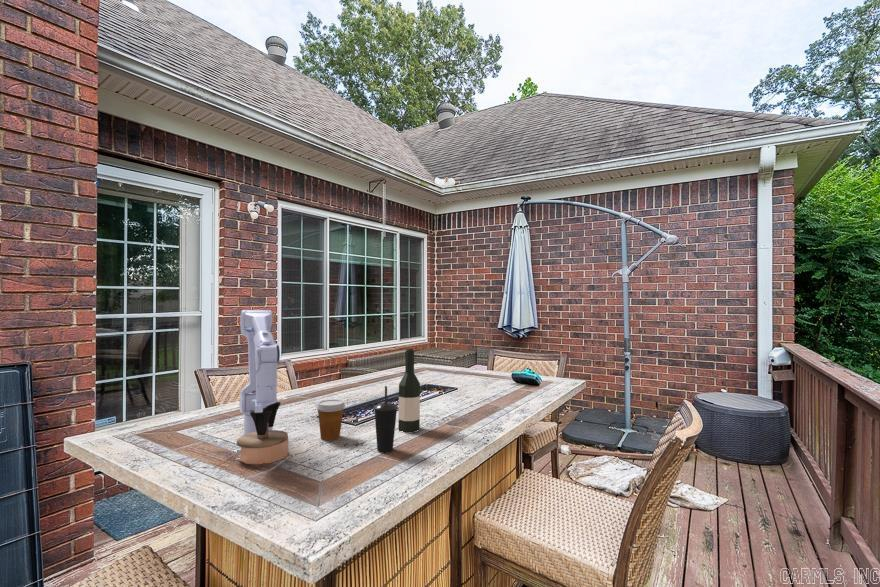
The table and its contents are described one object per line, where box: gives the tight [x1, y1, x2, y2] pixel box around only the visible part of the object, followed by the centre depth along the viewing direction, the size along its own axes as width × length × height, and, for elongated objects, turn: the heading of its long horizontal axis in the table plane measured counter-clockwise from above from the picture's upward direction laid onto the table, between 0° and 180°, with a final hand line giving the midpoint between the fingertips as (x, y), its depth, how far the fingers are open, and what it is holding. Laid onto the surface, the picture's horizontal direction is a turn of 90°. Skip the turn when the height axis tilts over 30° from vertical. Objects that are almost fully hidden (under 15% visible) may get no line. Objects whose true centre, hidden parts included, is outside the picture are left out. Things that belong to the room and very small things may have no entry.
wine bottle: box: [397, 347, 421, 433], centre depth 147 cm, size 8×8×30 cm
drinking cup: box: [373, 385, 399, 454], centre depth 125 cm, size 8×8×20 cm
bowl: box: [240, 437, 289, 465], centre depth 118 cm, size 13×13×5 cm
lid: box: [236, 423, 289, 448], centre depth 118 cm, size 14×14×5 cm
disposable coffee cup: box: [316, 399, 346, 441], centre depth 137 cm, size 10×10×12 cm
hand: (265, 430), depth 119 cm, fingers open, 7 cm apart
